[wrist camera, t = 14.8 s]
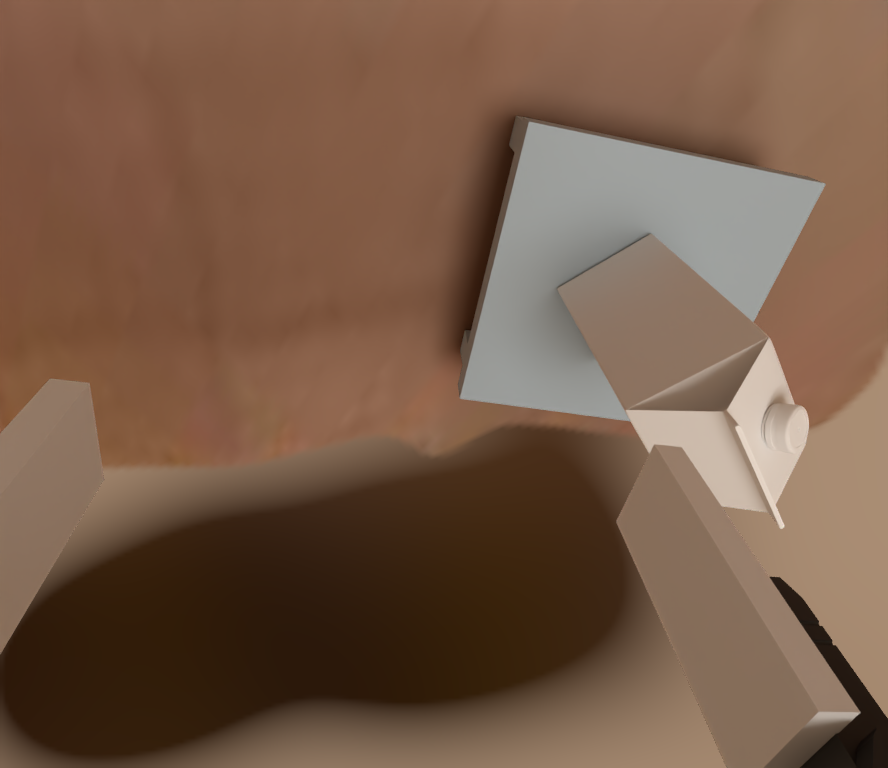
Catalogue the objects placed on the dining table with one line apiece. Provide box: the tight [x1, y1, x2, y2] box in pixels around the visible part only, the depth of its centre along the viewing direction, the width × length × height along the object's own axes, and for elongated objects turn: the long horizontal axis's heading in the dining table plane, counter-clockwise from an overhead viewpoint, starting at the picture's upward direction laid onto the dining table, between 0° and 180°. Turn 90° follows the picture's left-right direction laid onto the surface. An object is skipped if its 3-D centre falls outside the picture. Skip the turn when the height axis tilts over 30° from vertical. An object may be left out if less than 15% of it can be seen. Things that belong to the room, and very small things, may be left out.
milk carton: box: [557, 234, 809, 529], centre depth 33 cm, size 7×7×19 cm
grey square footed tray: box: [458, 116, 825, 421], centre depth 44 cm, size 20×20×7 cm
